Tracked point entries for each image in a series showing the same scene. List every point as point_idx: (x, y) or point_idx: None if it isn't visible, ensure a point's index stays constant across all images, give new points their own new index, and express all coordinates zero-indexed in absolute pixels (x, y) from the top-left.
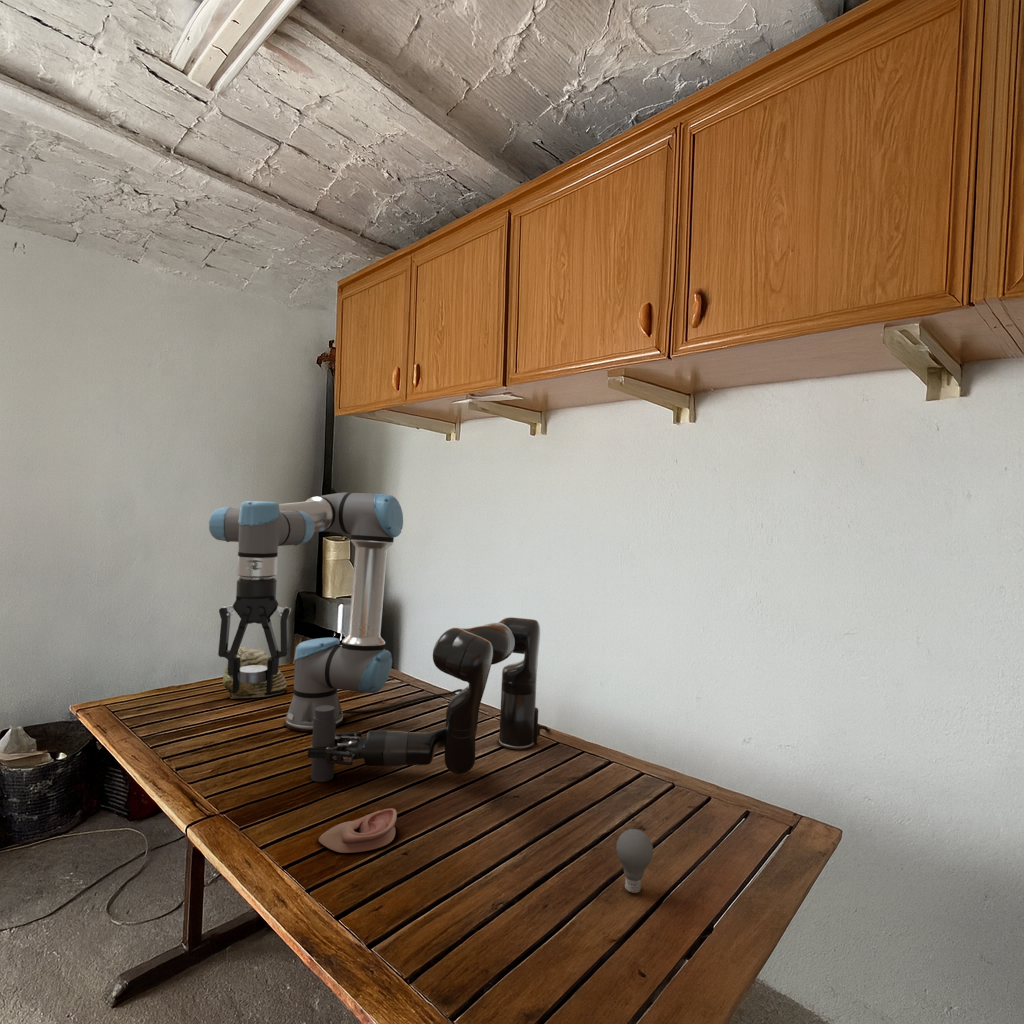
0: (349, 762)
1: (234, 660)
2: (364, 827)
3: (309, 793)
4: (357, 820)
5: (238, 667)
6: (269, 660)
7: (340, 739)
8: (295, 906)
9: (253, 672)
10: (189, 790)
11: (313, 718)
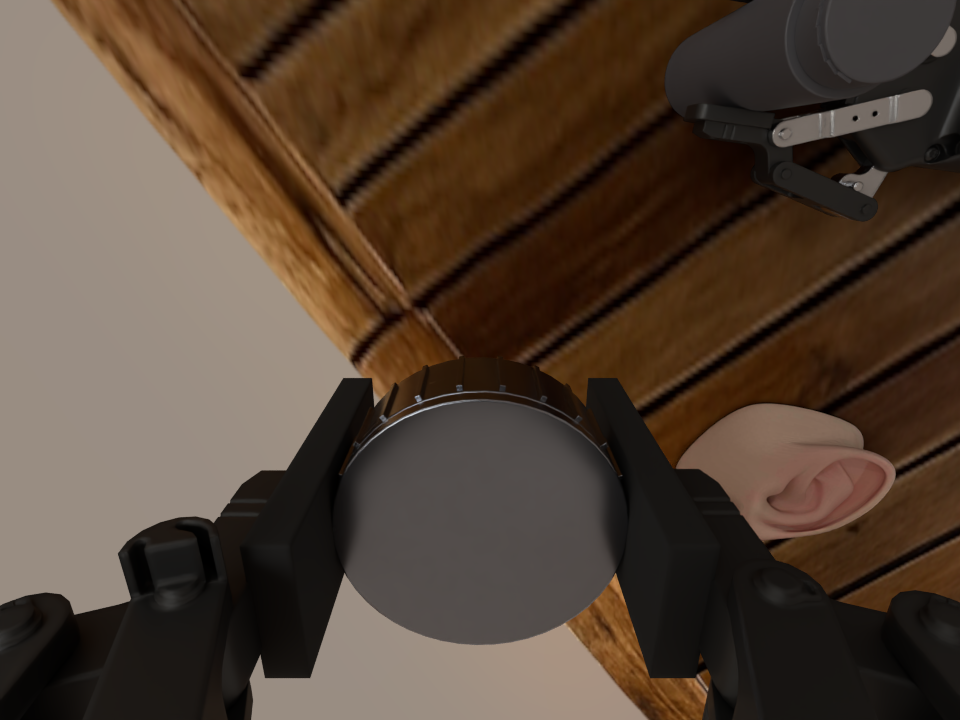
0: (840, 217)
1: (270, 668)
2: (793, 493)
3: (656, 207)
4: (784, 474)
5: (329, 557)
6: (673, 675)
7: None
8: (628, 642)
9: (504, 642)
10: (269, 139)
11: (782, 44)
